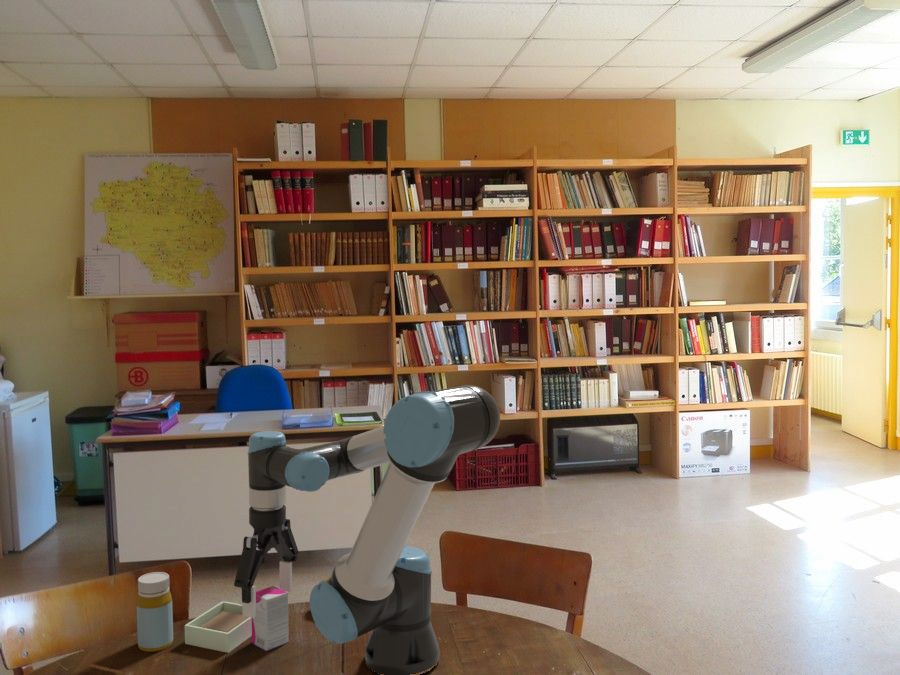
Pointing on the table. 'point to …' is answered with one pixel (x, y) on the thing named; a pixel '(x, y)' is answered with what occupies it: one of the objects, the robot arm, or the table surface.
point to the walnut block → (224, 621)
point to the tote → (218, 638)
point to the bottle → (154, 612)
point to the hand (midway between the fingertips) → (268, 603)
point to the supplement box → (270, 619)
